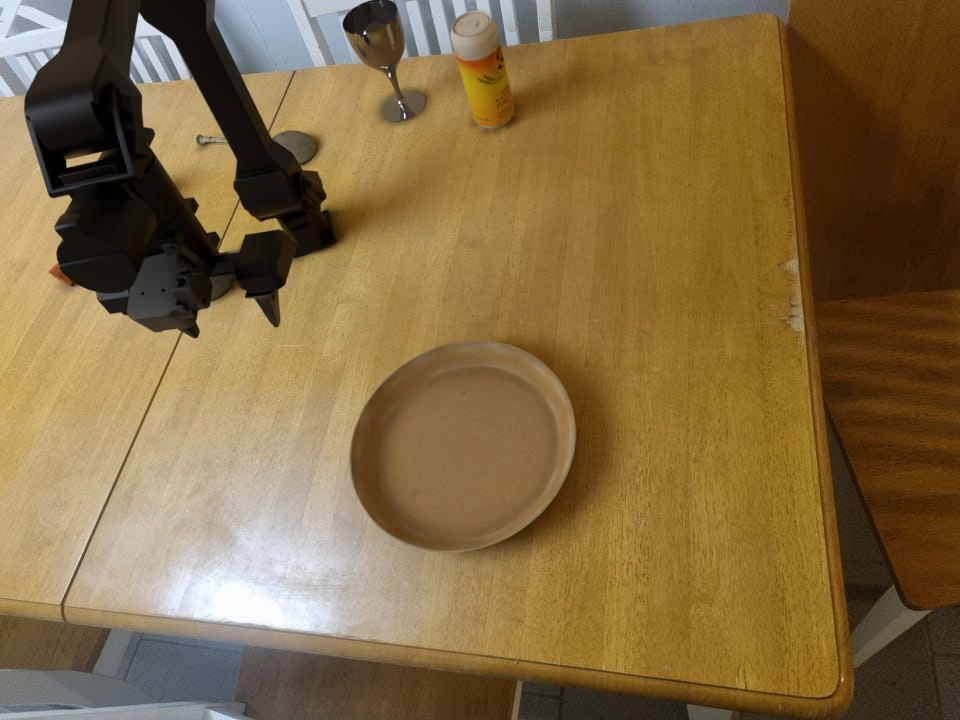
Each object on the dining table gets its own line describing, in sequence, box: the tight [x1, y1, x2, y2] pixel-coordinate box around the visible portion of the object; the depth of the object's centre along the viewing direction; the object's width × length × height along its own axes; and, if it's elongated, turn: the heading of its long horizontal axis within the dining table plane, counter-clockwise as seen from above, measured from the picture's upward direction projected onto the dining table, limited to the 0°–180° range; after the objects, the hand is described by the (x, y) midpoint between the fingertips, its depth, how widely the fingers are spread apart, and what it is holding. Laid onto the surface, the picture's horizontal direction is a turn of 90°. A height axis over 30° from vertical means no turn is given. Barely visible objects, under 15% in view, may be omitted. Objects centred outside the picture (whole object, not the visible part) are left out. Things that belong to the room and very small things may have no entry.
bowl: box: [210, 251, 234, 301], centre depth 99 cm, size 7×7×4 cm
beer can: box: [450, 9, 516, 129], centre depth 100 cm, size 6×6×15 cm
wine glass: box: [342, 0, 427, 123], centre depth 106 cm, size 8×8×15 cm
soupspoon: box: [194, 129, 317, 164], centre depth 114 cm, size 22×3×7 cm
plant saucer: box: [348, 339, 577, 554], centre depth 77 cm, size 24×24×3 cm
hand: (237, 329), depth 76 cm, fingers open, 9 cm apart
